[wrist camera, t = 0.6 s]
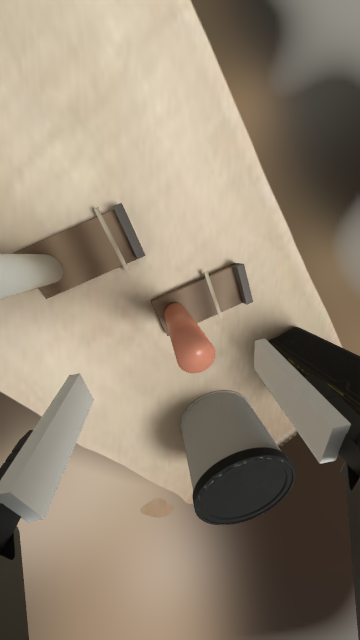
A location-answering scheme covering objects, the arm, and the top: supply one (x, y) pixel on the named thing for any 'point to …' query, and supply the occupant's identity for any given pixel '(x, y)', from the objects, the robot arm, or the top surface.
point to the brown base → (208, 294)
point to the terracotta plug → (188, 340)
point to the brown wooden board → (90, 249)
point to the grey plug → (27, 272)
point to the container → (232, 460)
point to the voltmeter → (322, 363)
